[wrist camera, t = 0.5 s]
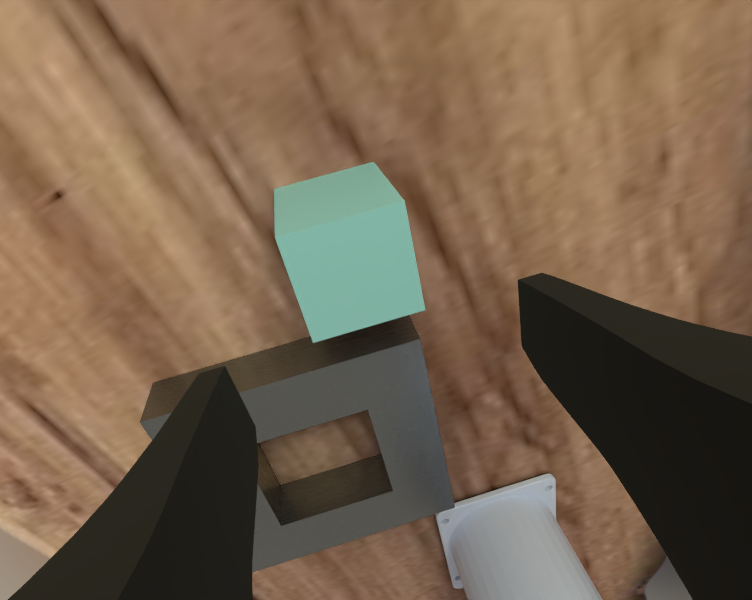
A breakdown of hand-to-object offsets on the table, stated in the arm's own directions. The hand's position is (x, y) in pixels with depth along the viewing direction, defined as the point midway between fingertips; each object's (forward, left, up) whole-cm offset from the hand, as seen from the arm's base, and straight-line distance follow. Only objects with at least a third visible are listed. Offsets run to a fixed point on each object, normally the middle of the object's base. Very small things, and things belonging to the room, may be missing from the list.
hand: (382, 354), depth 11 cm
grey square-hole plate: (-11, +4, -9) cm, 15 cm away
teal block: (0, 0, -9) cm, 9 cm away
